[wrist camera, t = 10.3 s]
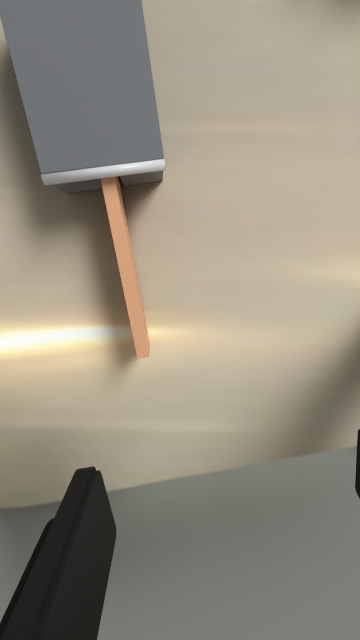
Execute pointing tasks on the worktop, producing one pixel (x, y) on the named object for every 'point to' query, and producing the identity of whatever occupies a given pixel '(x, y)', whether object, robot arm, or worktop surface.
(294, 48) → the worktop surface
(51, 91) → the grey rectangular block
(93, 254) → the worktop surface
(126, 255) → the wooden craft stick
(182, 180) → the worktop surface
